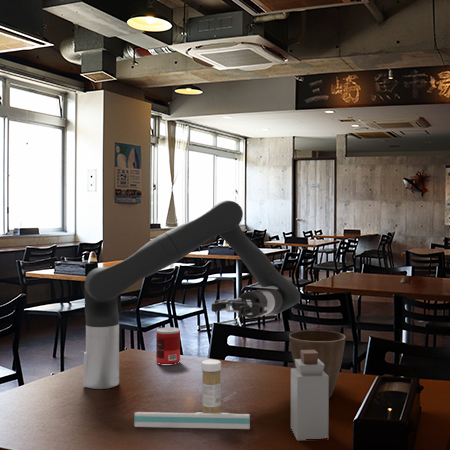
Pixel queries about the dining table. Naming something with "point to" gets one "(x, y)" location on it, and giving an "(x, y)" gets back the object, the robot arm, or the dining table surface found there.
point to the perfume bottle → (309, 397)
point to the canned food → (168, 345)
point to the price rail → (192, 420)
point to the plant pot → (321, 350)
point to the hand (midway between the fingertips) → (226, 309)
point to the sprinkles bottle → (211, 386)
